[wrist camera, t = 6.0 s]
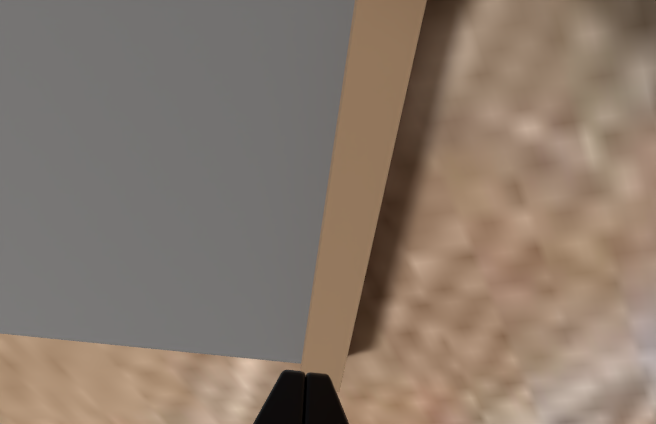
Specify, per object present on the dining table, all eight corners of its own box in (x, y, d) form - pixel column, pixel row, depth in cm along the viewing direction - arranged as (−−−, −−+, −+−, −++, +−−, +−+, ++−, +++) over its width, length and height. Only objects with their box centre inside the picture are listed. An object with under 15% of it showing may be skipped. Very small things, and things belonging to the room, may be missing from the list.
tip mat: (461, -219, 11) (477, -227, 10) (339, 359, 22) (339, 392, 21) (-330, -348, 10) (-429, -377, 9) (-52, 320, 21) (-78, 351, 20)
